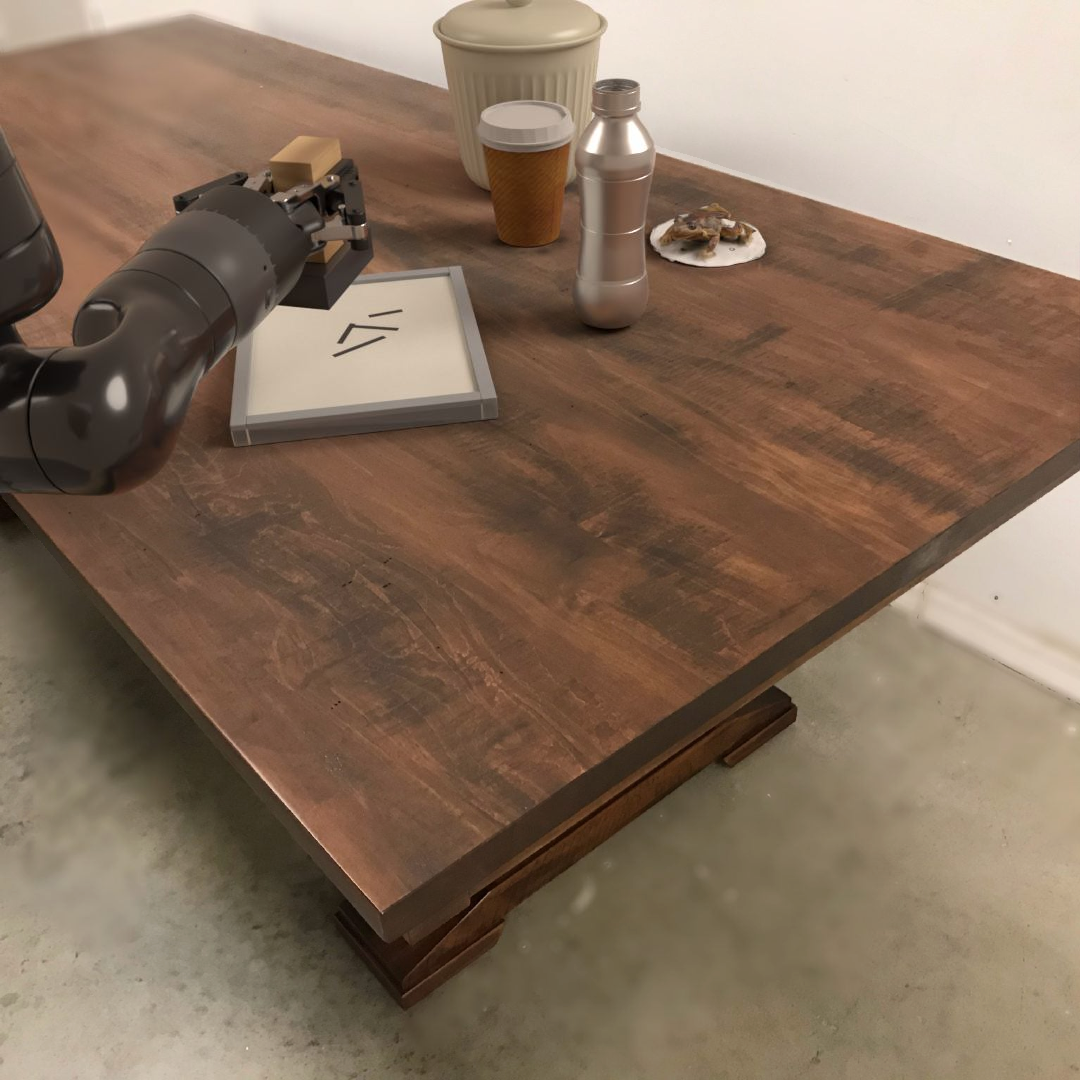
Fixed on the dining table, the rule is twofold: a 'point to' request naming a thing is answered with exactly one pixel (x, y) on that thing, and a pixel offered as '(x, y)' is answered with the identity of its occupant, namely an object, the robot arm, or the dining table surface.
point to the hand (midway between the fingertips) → (325, 170)
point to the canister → (518, 64)
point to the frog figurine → (707, 239)
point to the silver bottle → (613, 207)
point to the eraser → (337, 261)
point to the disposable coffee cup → (527, 167)
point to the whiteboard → (365, 362)
